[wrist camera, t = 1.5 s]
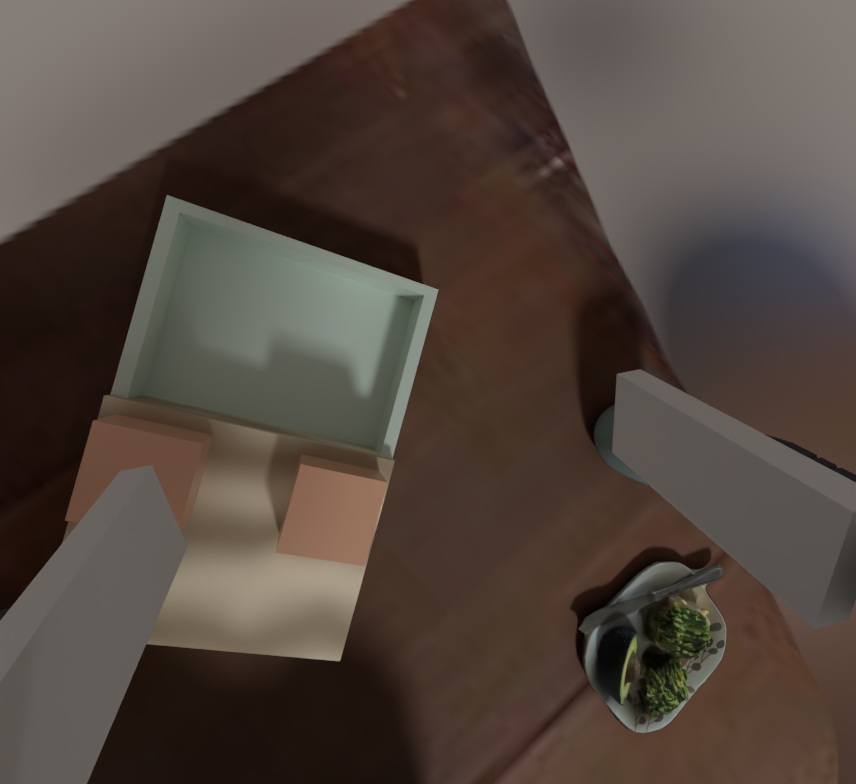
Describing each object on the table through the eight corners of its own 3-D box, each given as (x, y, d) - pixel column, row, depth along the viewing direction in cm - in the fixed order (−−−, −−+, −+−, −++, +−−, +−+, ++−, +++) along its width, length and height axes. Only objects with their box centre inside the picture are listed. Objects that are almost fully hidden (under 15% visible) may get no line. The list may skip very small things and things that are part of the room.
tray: (383, 449, 39) (392, 458, 35) (132, 390, 34) (110, 394, 30) (425, 296, 39) (438, 289, 36) (182, 214, 34) (166, 194, 30)
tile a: (358, 546, 34) (364, 566, 31) (278, 533, 32) (276, 552, 29) (379, 470, 34) (387, 482, 31) (300, 453, 32) (300, 464, 29)
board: (335, 624, 39) (340, 661, 34) (74, 595, 33) (36, 634, 29) (383, 449, 39) (394, 461, 34) (132, 390, 34) (104, 395, 29)
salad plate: (675, 509, 49) (712, 523, 45) (743, 618, 53) (784, 642, 48) (549, 633, 46) (576, 662, 41) (632, 741, 49) (664, 778, 45)
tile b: (190, 518, 31) (176, 537, 27) (92, 502, 29) (64, 520, 26) (213, 435, 31) (203, 443, 27) (117, 414, 29) (93, 420, 26)
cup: (570, 416, 44) (644, 431, 35) (630, 382, 46) (716, 386, 36) (597, 483, 46) (676, 515, 36) (654, 447, 47) (744, 468, 38)
